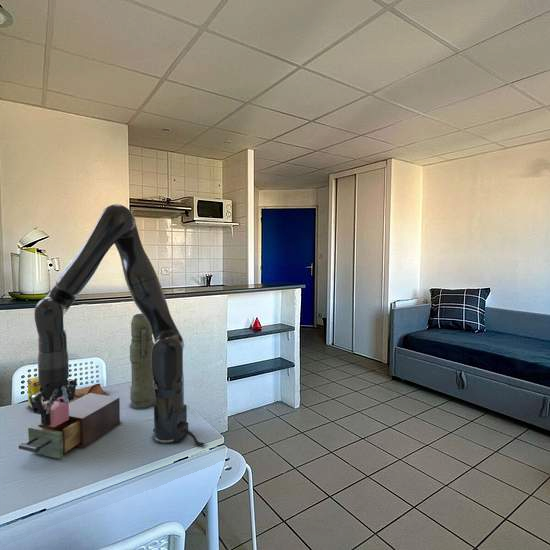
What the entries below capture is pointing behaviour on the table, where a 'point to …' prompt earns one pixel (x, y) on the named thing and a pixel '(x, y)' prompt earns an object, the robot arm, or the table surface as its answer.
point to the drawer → (53, 438)
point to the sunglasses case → (86, 392)
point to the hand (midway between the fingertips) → (55, 420)
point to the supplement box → (33, 389)
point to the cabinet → (95, 415)
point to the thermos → (141, 363)
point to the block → (58, 413)
